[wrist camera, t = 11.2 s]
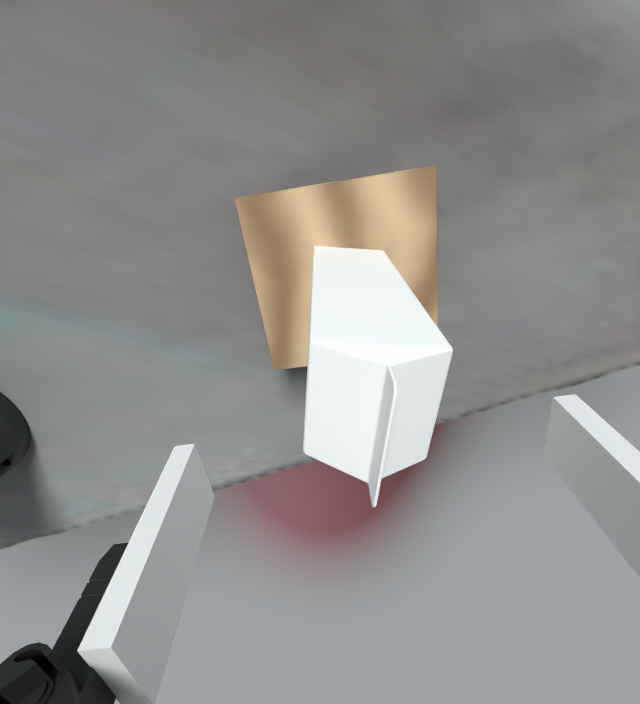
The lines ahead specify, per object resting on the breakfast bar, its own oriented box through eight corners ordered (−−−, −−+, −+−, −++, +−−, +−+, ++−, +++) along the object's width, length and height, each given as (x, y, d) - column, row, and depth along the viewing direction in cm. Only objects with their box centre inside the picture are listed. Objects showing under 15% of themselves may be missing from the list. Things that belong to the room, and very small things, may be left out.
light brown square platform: (279, 343, 43) (274, 370, 38) (247, 192, 36) (234, 198, 30) (422, 324, 42) (437, 348, 37) (418, 164, 35) (436, 166, 29)
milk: (310, 311, 35) (295, 510, 15) (313, 244, 32) (302, 382, 13) (376, 315, 35) (445, 517, 15) (385, 248, 32) (484, 392, 13)
